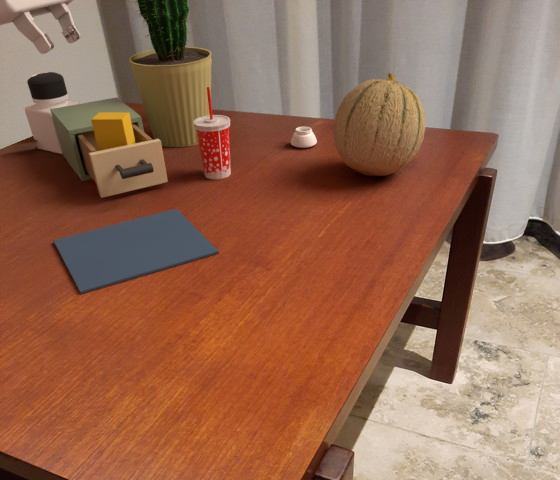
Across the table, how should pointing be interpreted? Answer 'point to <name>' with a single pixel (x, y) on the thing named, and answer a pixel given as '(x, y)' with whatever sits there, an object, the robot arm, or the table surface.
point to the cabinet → (84, 127)
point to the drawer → (123, 163)
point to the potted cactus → (171, 74)
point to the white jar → (303, 137)
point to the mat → (132, 249)
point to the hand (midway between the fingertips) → (62, 45)
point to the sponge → (113, 129)
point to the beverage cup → (214, 143)
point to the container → (46, 108)
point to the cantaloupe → (379, 127)
